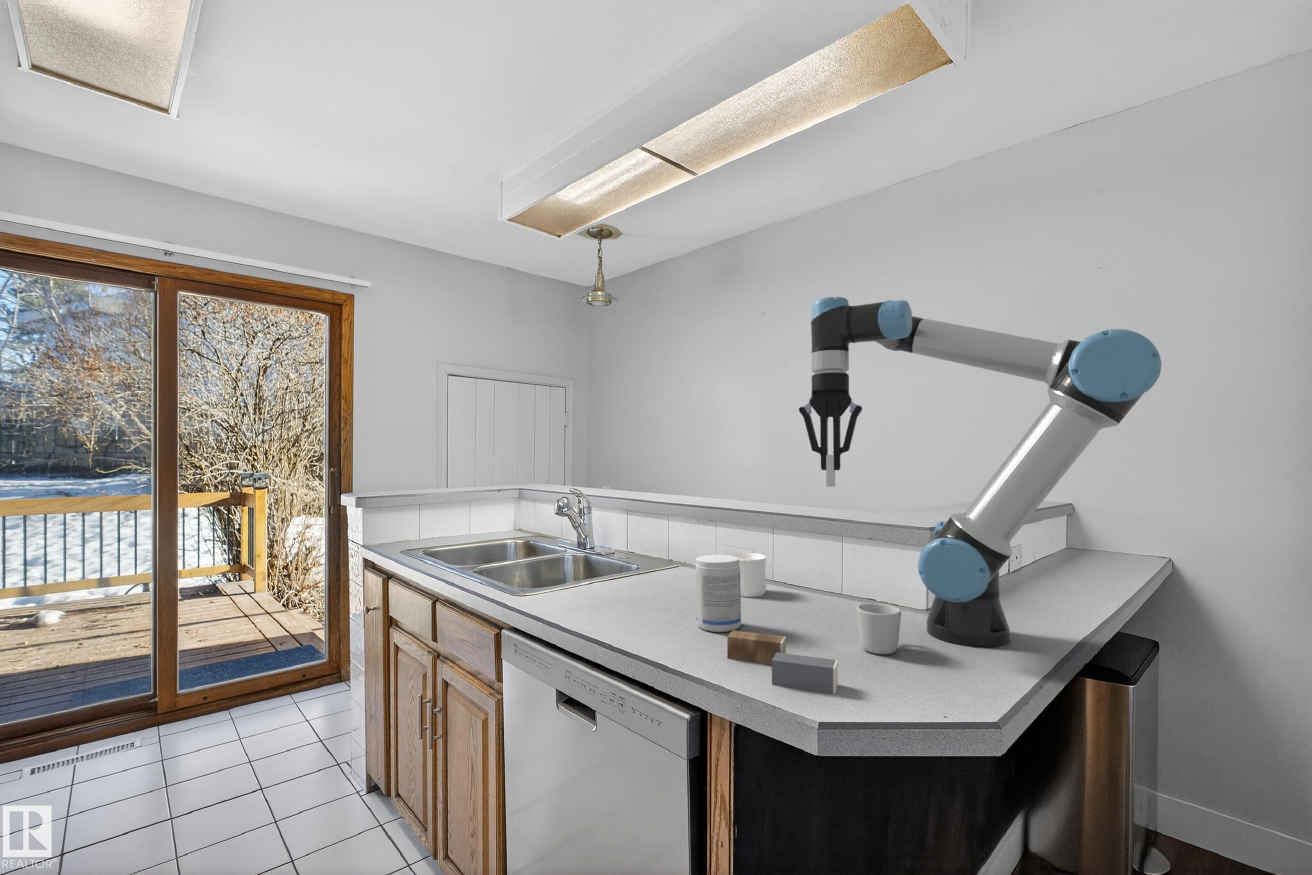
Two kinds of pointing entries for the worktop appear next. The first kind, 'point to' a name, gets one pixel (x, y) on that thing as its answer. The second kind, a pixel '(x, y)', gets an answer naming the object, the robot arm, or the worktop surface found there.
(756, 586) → the cup
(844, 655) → the worktop surface
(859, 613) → the cup
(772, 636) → the walnut block
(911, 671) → the worktop surface
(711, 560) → the supplement tub
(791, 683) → the charcoal block
